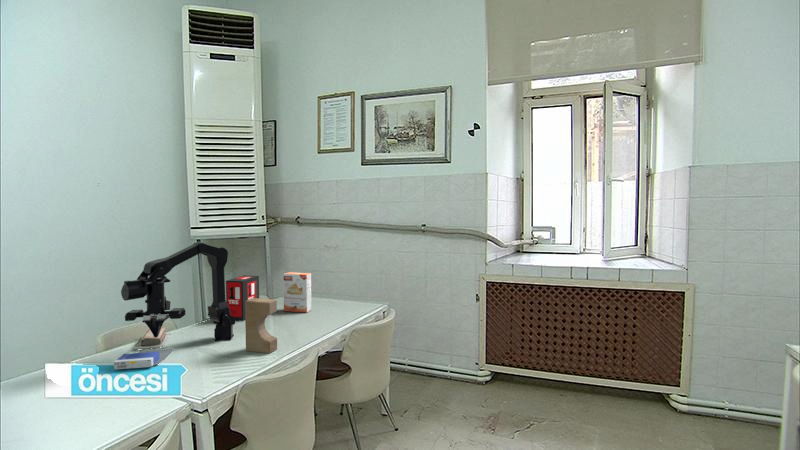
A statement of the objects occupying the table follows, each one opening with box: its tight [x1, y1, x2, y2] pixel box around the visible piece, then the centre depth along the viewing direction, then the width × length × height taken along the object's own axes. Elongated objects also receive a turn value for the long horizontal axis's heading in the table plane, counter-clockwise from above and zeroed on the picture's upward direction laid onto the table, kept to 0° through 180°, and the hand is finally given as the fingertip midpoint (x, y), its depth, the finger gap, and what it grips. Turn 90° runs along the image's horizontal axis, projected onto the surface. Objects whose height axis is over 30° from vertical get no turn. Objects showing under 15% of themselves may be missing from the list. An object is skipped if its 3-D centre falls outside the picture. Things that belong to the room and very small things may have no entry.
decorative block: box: [244, 297, 278, 354], centre depth 158 cm, size 11×6×20 cm, turn 73°
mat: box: [137, 348, 175, 367], centre depth 149 cm, size 12×16×1 cm
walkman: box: [113, 352, 159, 370], centre depth 142 cm, size 8×3×12 cm
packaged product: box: [134, 326, 171, 351], centre depth 167 cm, size 18×5×10 cm
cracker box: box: [283, 271, 312, 313], centre depth 219 cm, size 14×6×21 cm, turn 76°
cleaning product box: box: [225, 274, 260, 322], centre depth 208 cm, size 16×9×20 cm, turn 172°
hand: (156, 337), depth 149 cm, fingers closed
